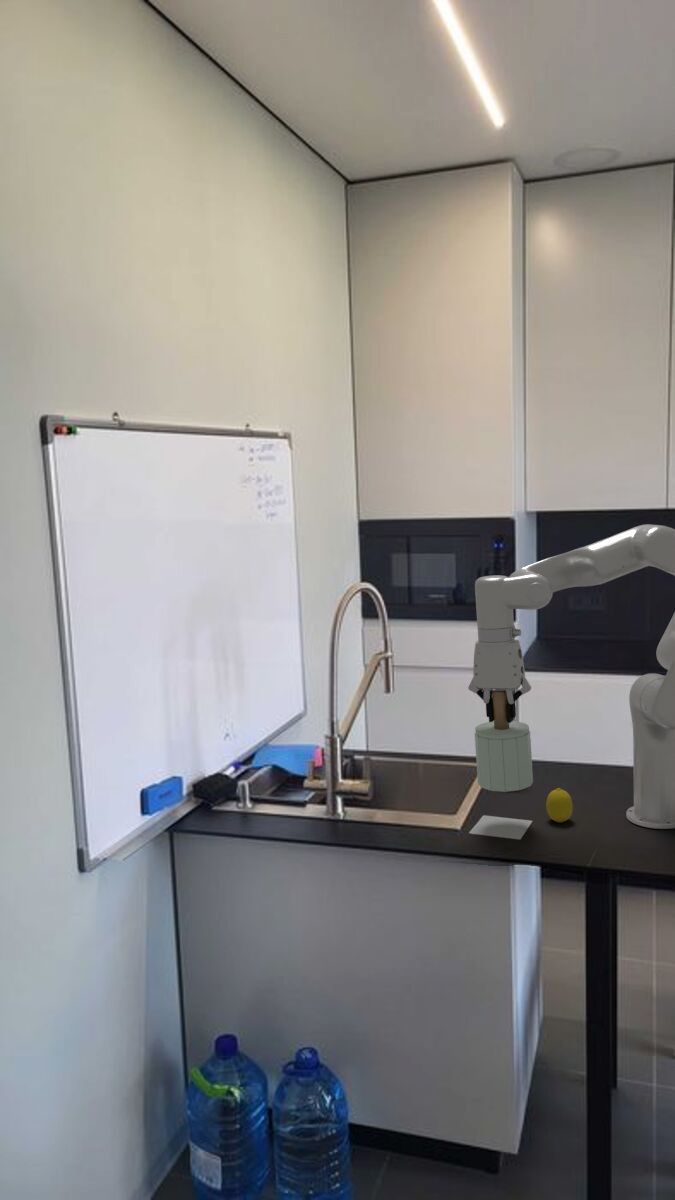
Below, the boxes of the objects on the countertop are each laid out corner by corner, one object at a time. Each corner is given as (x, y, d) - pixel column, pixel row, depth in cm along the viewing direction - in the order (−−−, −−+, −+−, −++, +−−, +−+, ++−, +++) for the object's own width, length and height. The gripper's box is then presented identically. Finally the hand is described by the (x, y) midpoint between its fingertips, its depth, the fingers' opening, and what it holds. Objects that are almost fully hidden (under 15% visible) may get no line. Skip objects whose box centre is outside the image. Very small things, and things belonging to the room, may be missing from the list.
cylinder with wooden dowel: (537, 775, 196) (532, 685, 193) (525, 793, 186) (519, 697, 183) (486, 772, 201) (481, 684, 198) (472, 789, 191) (466, 696, 188)
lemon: (570, 819, 199) (570, 783, 198) (574, 828, 193) (574, 792, 192) (545, 819, 199) (544, 784, 198) (548, 828, 194) (547, 792, 193)
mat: (532, 823, 197) (532, 820, 197) (520, 842, 187) (520, 839, 187) (483, 817, 202) (483, 815, 202) (468, 835, 192) (468, 833, 192)
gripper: (539, 631, 189) (544, 717, 191) (463, 632, 196) (469, 715, 199) (531, 638, 183) (536, 727, 185) (452, 638, 190) (458, 724, 192)
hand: (501, 719), depth 192 cm, fingers closed on cylinder with wooden dowel, 3 cm apart
